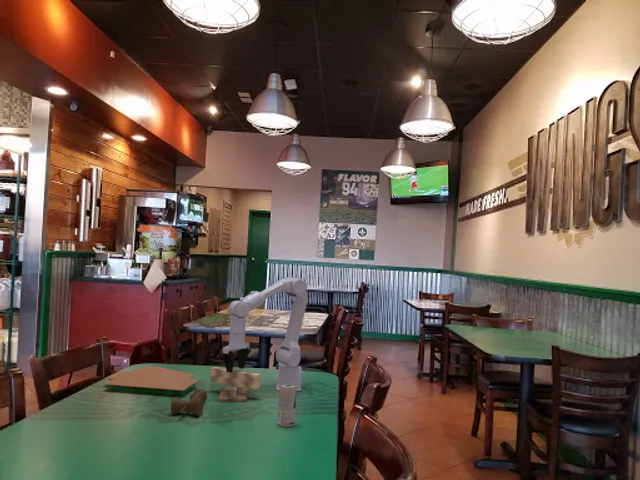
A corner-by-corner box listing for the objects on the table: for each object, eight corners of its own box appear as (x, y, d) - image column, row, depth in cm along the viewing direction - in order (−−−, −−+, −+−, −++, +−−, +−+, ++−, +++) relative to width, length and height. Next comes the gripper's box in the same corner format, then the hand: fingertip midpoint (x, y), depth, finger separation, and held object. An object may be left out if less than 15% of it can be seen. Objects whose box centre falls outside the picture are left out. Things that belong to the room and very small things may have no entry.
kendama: (213, 405, 171) (195, 422, 151) (186, 404, 171) (164, 420, 152) (214, 387, 171) (196, 402, 151) (187, 386, 172) (165, 401, 152)
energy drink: (295, 422, 155) (297, 384, 156) (293, 428, 150) (295, 388, 150) (279, 420, 156) (281, 382, 156) (276, 426, 150) (278, 387, 151)
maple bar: (210, 381, 184) (211, 368, 185) (215, 379, 187) (215, 366, 187) (255, 389, 176) (256, 375, 176) (259, 387, 179) (260, 374, 179)
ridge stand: (248, 389, 190) (248, 379, 190) (246, 402, 174) (247, 390, 174) (222, 389, 189) (222, 378, 189) (218, 401, 173) (218, 390, 173)
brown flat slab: (127, 377, 201) (128, 357, 202) (204, 383, 198) (206, 363, 198) (96, 392, 179) (97, 369, 179) (183, 399, 175) (184, 376, 175)
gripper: (235, 336, 174) (233, 375, 174) (256, 332, 187) (255, 367, 187) (218, 334, 177) (216, 372, 177) (241, 330, 190) (239, 365, 190)
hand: (235, 370), depth 182 cm, fingers open, 7 cm apart
